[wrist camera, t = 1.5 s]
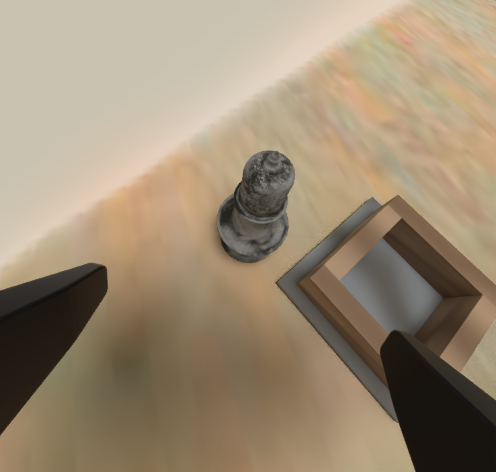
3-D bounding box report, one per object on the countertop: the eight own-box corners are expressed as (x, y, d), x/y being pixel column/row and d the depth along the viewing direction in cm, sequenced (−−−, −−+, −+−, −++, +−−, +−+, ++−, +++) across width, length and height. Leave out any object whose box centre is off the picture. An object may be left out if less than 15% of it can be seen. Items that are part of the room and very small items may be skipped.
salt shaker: (288, 252, 22) (359, 186, 11) (230, 275, 21) (242, 226, 10) (263, 200, 24) (303, 94, 12) (208, 218, 22) (196, 118, 11)
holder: (393, 420, 18) (438, 446, 15) (275, 283, 21) (287, 275, 17) (476, 302, 23) (527, 299, 19) (369, 199, 25) (395, 178, 21)
